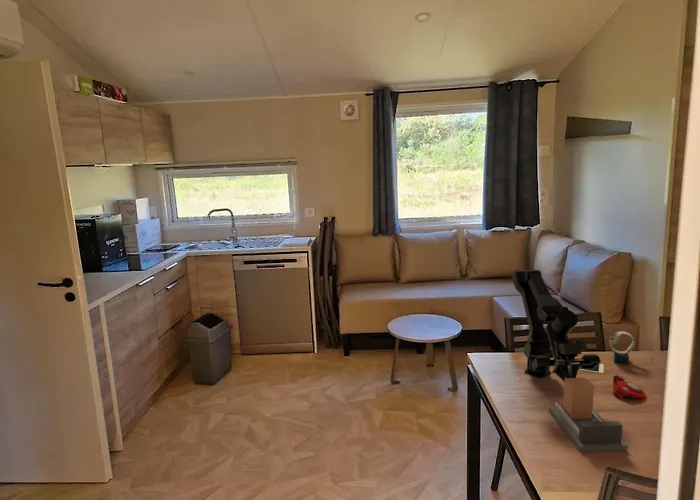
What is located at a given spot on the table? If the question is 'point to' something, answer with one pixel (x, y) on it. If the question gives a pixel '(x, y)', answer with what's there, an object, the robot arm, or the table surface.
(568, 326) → the robot arm
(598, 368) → the cell phone
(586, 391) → the brown block
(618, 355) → the watch
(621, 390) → the red tape dispenser
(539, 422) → the table surface
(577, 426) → the guide track
